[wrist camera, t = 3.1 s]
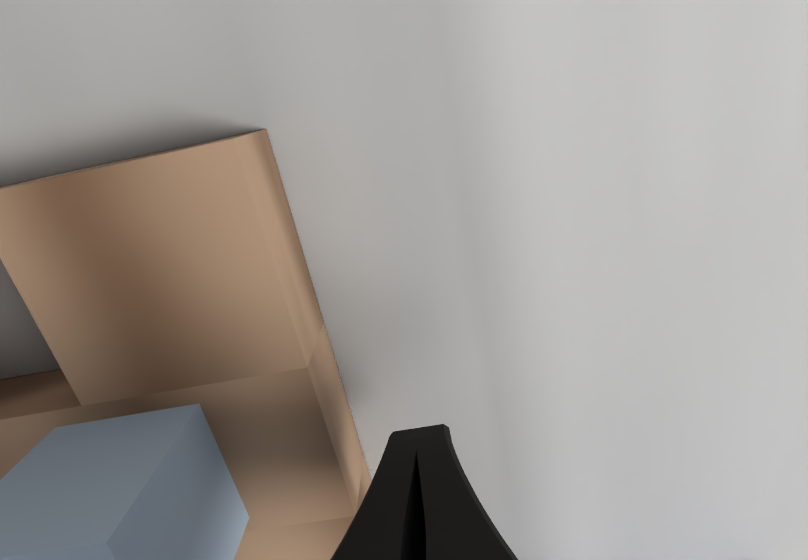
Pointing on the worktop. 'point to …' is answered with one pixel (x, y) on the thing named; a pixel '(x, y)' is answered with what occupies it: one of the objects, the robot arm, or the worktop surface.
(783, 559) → the worktop surface
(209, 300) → the tan flat slab
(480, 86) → the worktop surface
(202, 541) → the block
